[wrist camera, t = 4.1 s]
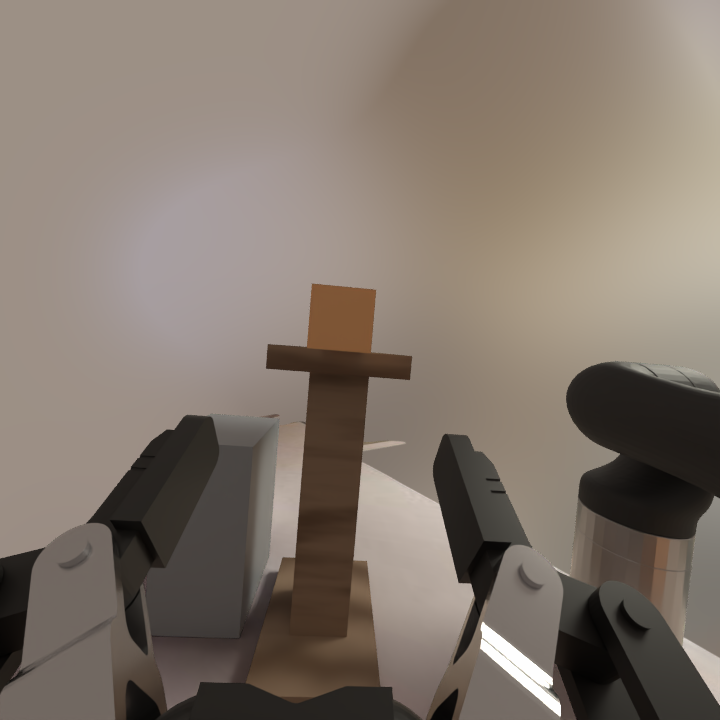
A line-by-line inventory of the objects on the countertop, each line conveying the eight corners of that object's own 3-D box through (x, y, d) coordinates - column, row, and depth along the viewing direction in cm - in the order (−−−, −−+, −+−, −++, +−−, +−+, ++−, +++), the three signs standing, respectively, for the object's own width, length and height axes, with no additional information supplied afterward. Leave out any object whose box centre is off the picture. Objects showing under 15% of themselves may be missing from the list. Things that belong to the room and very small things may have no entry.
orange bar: (370, 353, 17) (376, 289, 16) (307, 348, 16) (312, 283, 16) (355, 351, 40) (357, 325, 40) (329, 349, 40) (331, 322, 40)
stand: (379, 720, 26) (411, 356, 25) (240, 718, 26) (267, 344, 25) (365, 574, 43) (384, 353, 42) (281, 571, 42) (299, 346, 42)
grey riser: (239, 638, 32) (253, 446, 32) (143, 635, 32) (155, 440, 31) (269, 555, 45) (279, 418, 45) (201, 552, 45) (211, 413, 44)
